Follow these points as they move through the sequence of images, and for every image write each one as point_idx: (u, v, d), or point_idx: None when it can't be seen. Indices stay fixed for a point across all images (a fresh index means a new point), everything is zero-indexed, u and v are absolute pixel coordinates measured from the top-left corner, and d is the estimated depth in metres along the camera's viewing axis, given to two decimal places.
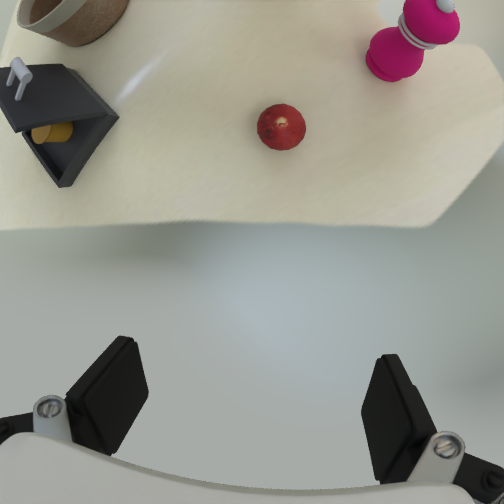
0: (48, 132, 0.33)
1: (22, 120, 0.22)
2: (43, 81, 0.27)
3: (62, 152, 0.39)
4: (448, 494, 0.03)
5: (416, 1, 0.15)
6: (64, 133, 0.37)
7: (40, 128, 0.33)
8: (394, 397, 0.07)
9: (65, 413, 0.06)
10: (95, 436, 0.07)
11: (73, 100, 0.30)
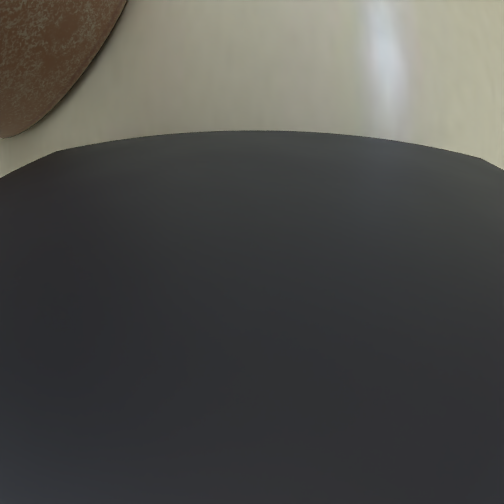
0: None
1: None
2: (28, 237, 0.02)
3: None
4: None
5: None
6: None
7: None
8: None
9: None
10: None
11: (472, 185, 0.04)
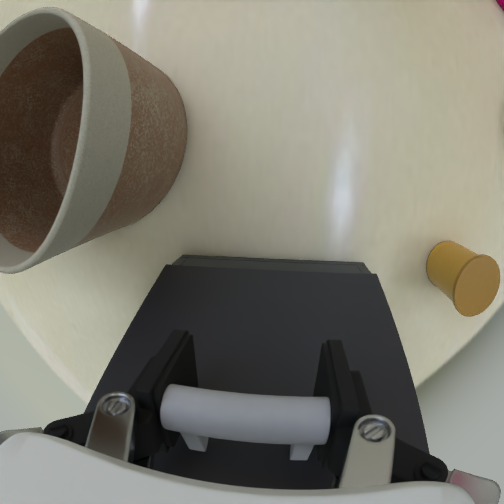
0: (498, 280, 0.17)
1: None
2: (227, 339, 0.15)
3: None
4: (448, 494, 0.03)
5: None
6: None
7: (478, 288, 0.17)
8: (328, 378, 0.08)
9: (136, 408, 0.07)
10: (159, 430, 0.08)
11: (336, 313, 0.17)
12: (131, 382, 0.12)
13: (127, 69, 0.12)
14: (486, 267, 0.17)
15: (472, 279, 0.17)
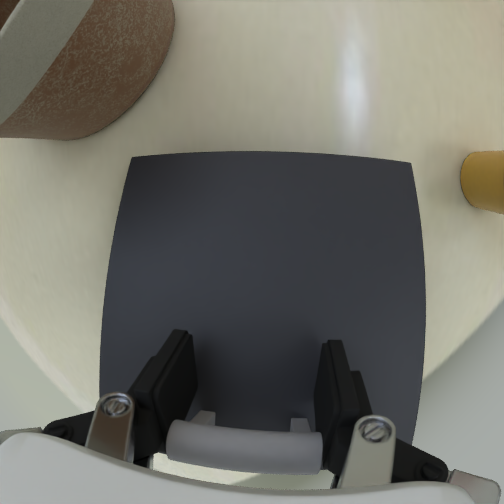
0: None
1: None
2: (220, 284, 0.13)
3: None
4: (448, 494, 0.03)
5: None
6: None
7: None
8: (329, 378, 0.08)
9: (135, 408, 0.07)
10: (159, 430, 0.08)
11: (356, 235, 0.13)
12: (129, 353, 0.12)
13: None
14: None
15: None
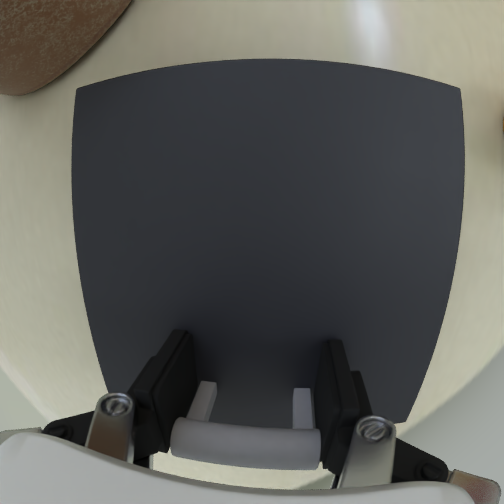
0: None
1: (395, 407, 0.11)
2: (205, 250, 0.10)
3: None
4: (448, 494, 0.03)
5: None
6: None
7: None
8: (329, 378, 0.08)
9: (135, 408, 0.07)
10: (159, 430, 0.08)
11: (383, 186, 0.09)
12: (118, 328, 0.12)
13: None
14: None
15: None
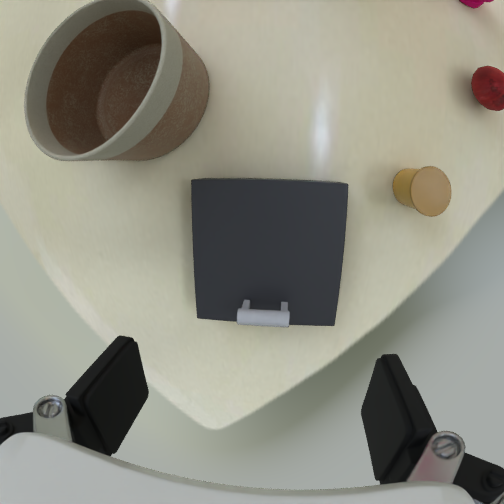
0: (449, 188, 0.24)
1: (326, 316, 0.31)
2: (249, 247, 0.30)
3: None
4: (448, 494, 0.03)
5: None
6: None
7: (431, 192, 0.24)
8: (394, 397, 0.07)
9: (65, 413, 0.06)
10: (95, 436, 0.07)
11: (310, 225, 0.29)
12: (210, 279, 0.31)
13: (179, 38, 0.19)
14: (435, 176, 0.24)
15: (424, 183, 0.24)
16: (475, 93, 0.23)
